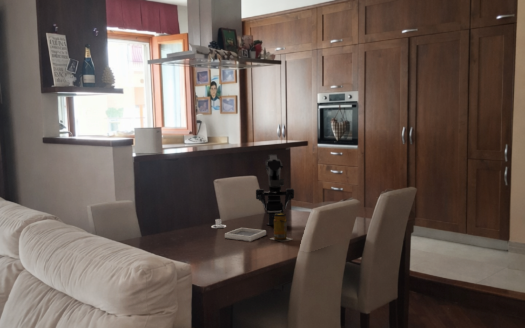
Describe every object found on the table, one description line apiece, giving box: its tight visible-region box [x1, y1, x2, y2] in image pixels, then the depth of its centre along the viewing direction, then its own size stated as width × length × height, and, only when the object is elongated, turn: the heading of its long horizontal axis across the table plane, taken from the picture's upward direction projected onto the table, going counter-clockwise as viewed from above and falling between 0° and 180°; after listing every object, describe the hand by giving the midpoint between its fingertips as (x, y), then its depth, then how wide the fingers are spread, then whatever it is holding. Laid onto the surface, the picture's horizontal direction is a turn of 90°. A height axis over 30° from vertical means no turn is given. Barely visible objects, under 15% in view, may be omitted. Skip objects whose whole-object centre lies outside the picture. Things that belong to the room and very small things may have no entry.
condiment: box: [269, 212, 293, 242], centre depth 239 cm, size 7×8×12 cm
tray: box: [224, 227, 267, 242], centre depth 246 cm, size 14×14×2 cm
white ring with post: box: [211, 218, 227, 229], centre depth 270 cm, size 9×8×4 cm
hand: (275, 209), depth 247 cm, fingers open, 9 cm apart
